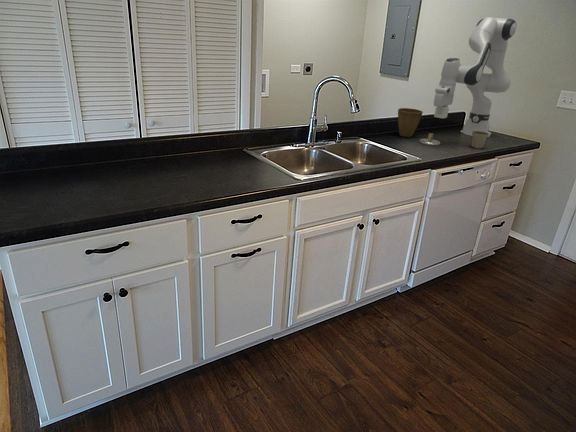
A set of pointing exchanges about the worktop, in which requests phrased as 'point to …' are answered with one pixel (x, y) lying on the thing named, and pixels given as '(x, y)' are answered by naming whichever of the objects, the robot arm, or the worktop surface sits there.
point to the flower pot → (478, 139)
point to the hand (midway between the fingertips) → (441, 113)
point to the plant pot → (408, 121)
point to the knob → (442, 112)
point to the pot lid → (429, 140)
